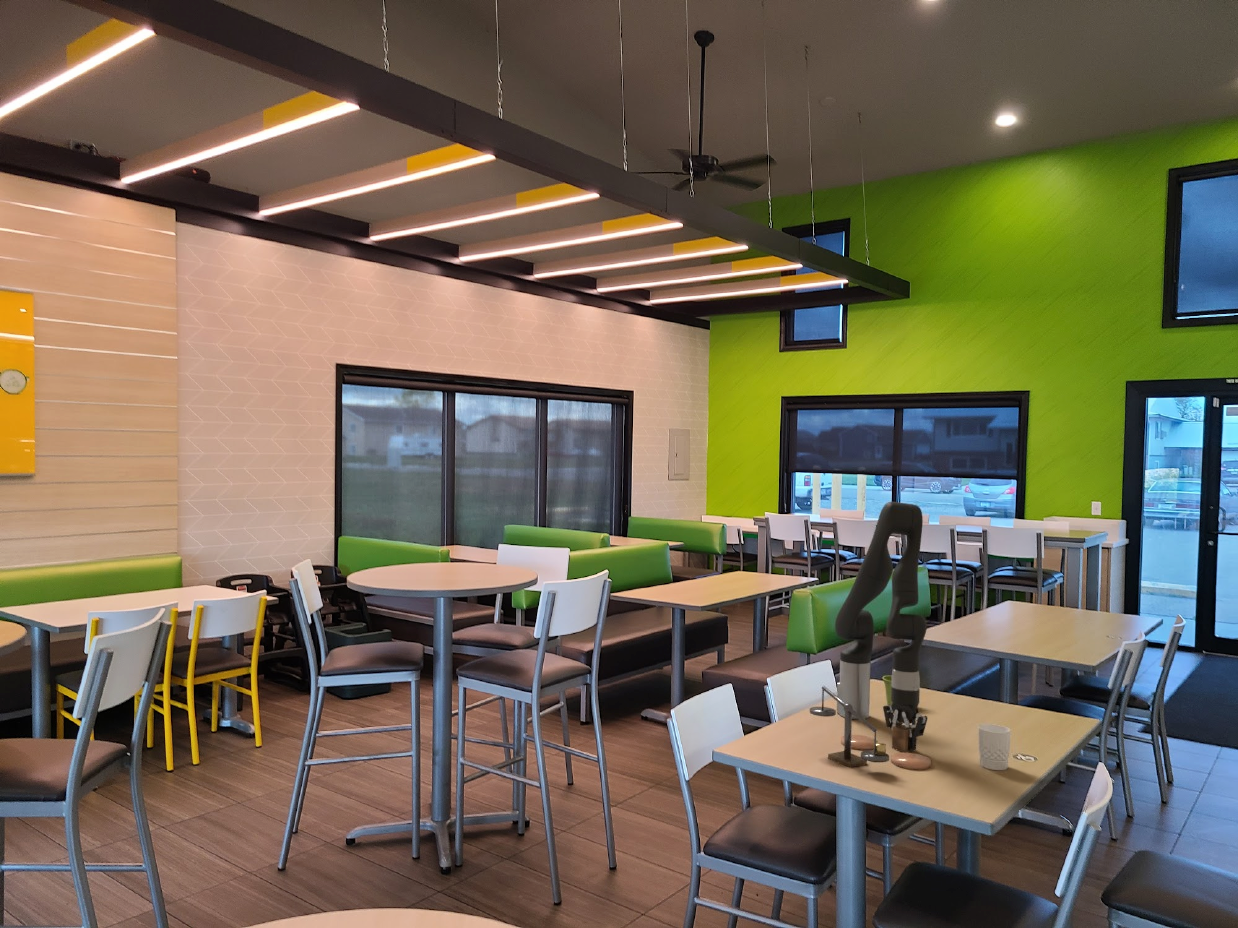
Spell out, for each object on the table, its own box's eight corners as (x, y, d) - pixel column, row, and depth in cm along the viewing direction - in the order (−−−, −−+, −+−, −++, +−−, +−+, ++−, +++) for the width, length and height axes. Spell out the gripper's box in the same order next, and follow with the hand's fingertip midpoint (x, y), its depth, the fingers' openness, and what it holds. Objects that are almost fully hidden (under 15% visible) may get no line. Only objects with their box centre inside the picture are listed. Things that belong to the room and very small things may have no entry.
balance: (803, 749, 241) (804, 684, 241) (822, 745, 244) (823, 681, 245) (875, 778, 219) (876, 706, 219) (894, 773, 222) (896, 703, 223)
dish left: (833, 741, 248) (833, 737, 248) (858, 736, 253) (858, 732, 253) (860, 751, 240) (860, 747, 240) (885, 746, 245) (885, 742, 245)
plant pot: (916, 708, 287) (917, 681, 287) (889, 708, 286) (890, 682, 286) (903, 700, 296) (904, 675, 296) (877, 701, 295) (877, 675, 295)
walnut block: (892, 748, 244) (892, 726, 244) (903, 745, 246) (903, 724, 246) (904, 752, 240) (905, 730, 240) (916, 750, 242) (916, 728, 242)
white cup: (993, 760, 235) (994, 722, 236) (1016, 769, 228) (1017, 731, 228) (970, 762, 233) (971, 725, 233) (993, 772, 225) (994, 733, 225)
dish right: (882, 760, 233) (882, 755, 233) (908, 754, 238) (908, 750, 238) (913, 771, 224) (913, 767, 224) (938, 765, 230) (938, 761, 230)
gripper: (876, 681, 247) (874, 742, 247) (917, 693, 235) (915, 756, 235) (894, 678, 251) (893, 738, 251) (935, 690, 239) (934, 752, 239)
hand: (904, 747), depth 243 cm, fingers closed on walnut block, 4 cm apart
